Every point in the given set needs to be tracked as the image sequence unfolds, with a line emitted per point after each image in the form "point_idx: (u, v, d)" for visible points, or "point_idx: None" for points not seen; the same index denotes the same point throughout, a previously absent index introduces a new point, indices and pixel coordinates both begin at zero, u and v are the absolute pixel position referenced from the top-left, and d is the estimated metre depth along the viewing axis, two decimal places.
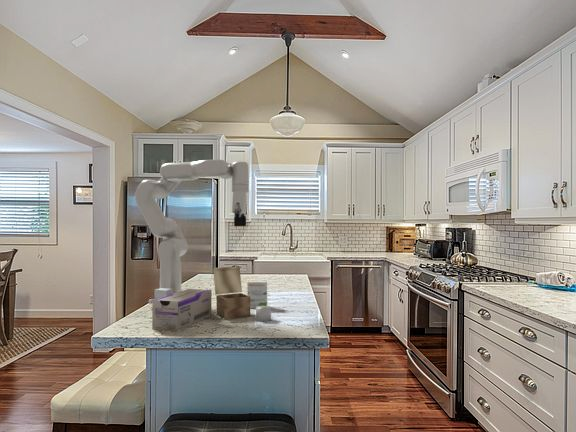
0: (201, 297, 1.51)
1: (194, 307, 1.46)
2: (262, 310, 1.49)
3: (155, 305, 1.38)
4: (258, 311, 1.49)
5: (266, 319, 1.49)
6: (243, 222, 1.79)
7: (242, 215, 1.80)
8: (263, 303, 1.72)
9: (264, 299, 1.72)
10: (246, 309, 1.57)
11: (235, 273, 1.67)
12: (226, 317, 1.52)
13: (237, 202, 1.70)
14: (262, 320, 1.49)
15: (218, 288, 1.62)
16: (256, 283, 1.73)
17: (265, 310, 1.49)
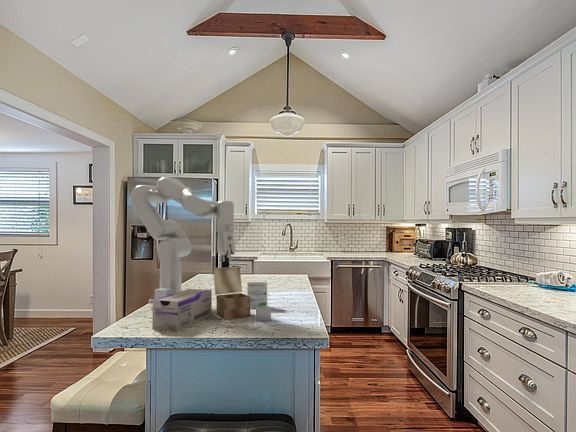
0: (201, 297, 1.52)
1: (194, 307, 1.46)
2: (262, 310, 1.49)
3: (155, 305, 1.38)
4: (258, 311, 1.49)
5: (266, 319, 1.49)
6: None
7: None
8: (263, 303, 1.72)
9: (264, 299, 1.72)
10: (246, 309, 1.57)
11: (235, 273, 1.67)
12: (226, 317, 1.52)
13: None
14: (262, 320, 1.49)
15: (218, 288, 1.62)
16: (256, 283, 1.73)
17: (265, 310, 1.49)
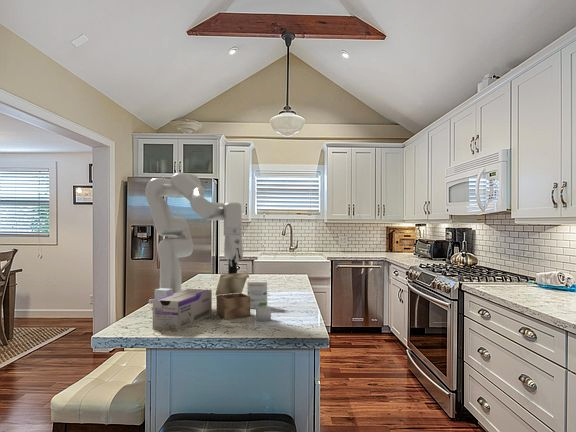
0: (201, 297, 1.52)
1: (194, 307, 1.46)
2: (262, 310, 1.49)
3: (155, 305, 1.38)
4: (258, 311, 1.49)
5: (266, 319, 1.49)
6: None
7: None
8: (263, 303, 1.72)
9: (264, 299, 1.72)
10: (246, 309, 1.57)
11: (241, 279, 1.61)
12: (226, 317, 1.52)
13: None
14: (262, 320, 1.49)
15: (220, 290, 1.60)
16: (256, 283, 1.73)
17: (265, 310, 1.49)
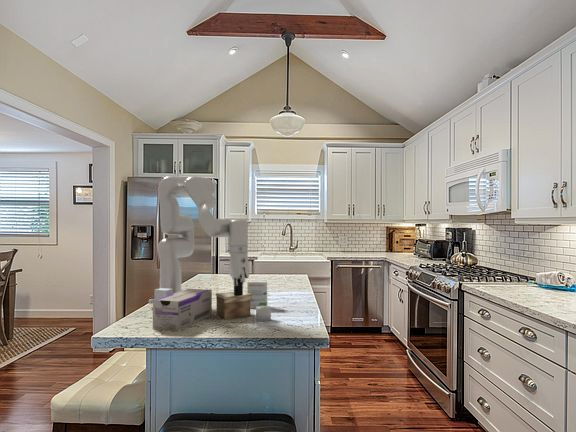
0: (201, 297, 1.52)
1: (194, 307, 1.46)
2: (262, 310, 1.49)
3: (155, 305, 1.38)
4: (258, 311, 1.49)
5: (266, 319, 1.49)
6: None
7: None
8: (263, 303, 1.72)
9: (264, 299, 1.72)
10: (246, 309, 1.57)
11: None
12: (226, 317, 1.52)
13: None
14: (262, 320, 1.49)
15: None
16: (256, 283, 1.73)
17: (265, 310, 1.49)
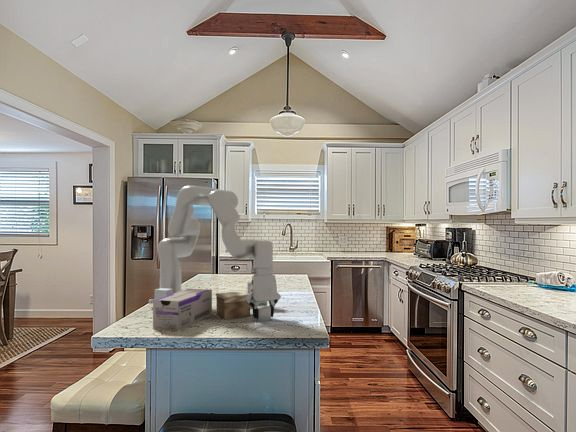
0: (201, 297, 1.52)
1: (195, 307, 1.47)
2: (262, 310, 1.49)
3: (156, 305, 1.39)
4: (258, 311, 1.49)
5: (266, 319, 1.49)
6: None
7: (254, 305, 1.50)
8: (263, 303, 1.72)
9: None
10: (246, 309, 1.57)
11: None
12: (226, 317, 1.52)
13: None
14: (262, 320, 1.49)
15: None
16: None
17: (265, 310, 1.49)
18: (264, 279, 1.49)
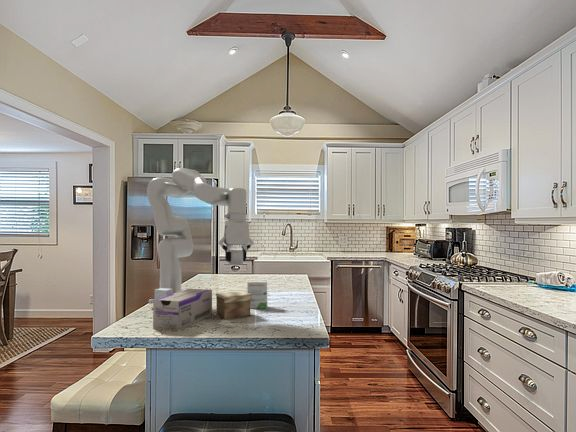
0: (202, 297, 1.52)
1: (195, 307, 1.47)
2: (234, 253, 1.56)
3: (156, 305, 1.39)
4: None
5: (237, 262, 1.56)
6: None
7: None
8: (263, 303, 1.72)
9: (264, 299, 1.72)
10: (246, 309, 1.57)
11: None
12: (226, 317, 1.52)
13: None
14: (234, 262, 1.56)
15: None
16: (256, 283, 1.73)
17: (237, 253, 1.56)
18: (237, 224, 1.56)
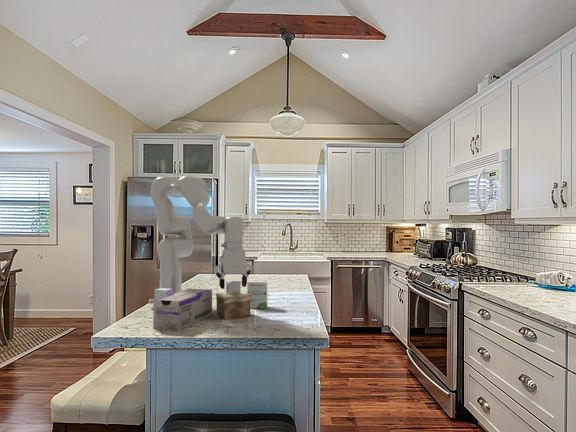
0: (202, 297, 1.52)
1: (195, 307, 1.47)
2: (231, 284, 1.57)
3: (156, 305, 1.39)
4: (228, 285, 1.57)
5: (235, 292, 1.57)
6: None
7: None
8: (263, 303, 1.72)
9: (264, 299, 1.72)
10: (246, 309, 1.57)
11: None
12: (226, 317, 1.52)
13: None
14: (231, 293, 1.56)
15: None
16: (256, 283, 1.73)
17: (234, 284, 1.57)
18: (233, 253, 1.57)
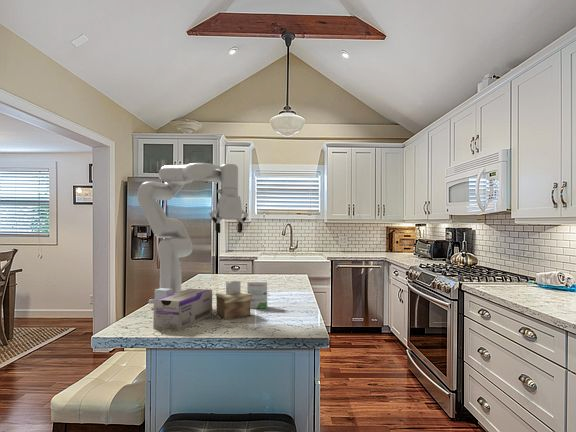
0: (202, 297, 1.52)
1: (195, 307, 1.47)
2: (231, 284, 1.57)
3: (156, 305, 1.39)
4: (228, 285, 1.57)
5: (235, 292, 1.57)
6: None
7: None
8: (263, 303, 1.72)
9: (264, 299, 1.72)
10: (246, 309, 1.57)
11: None
12: (226, 317, 1.52)
13: None
14: (231, 293, 1.56)
15: None
16: (256, 283, 1.73)
17: (234, 284, 1.57)
18: (229, 198, 1.62)
